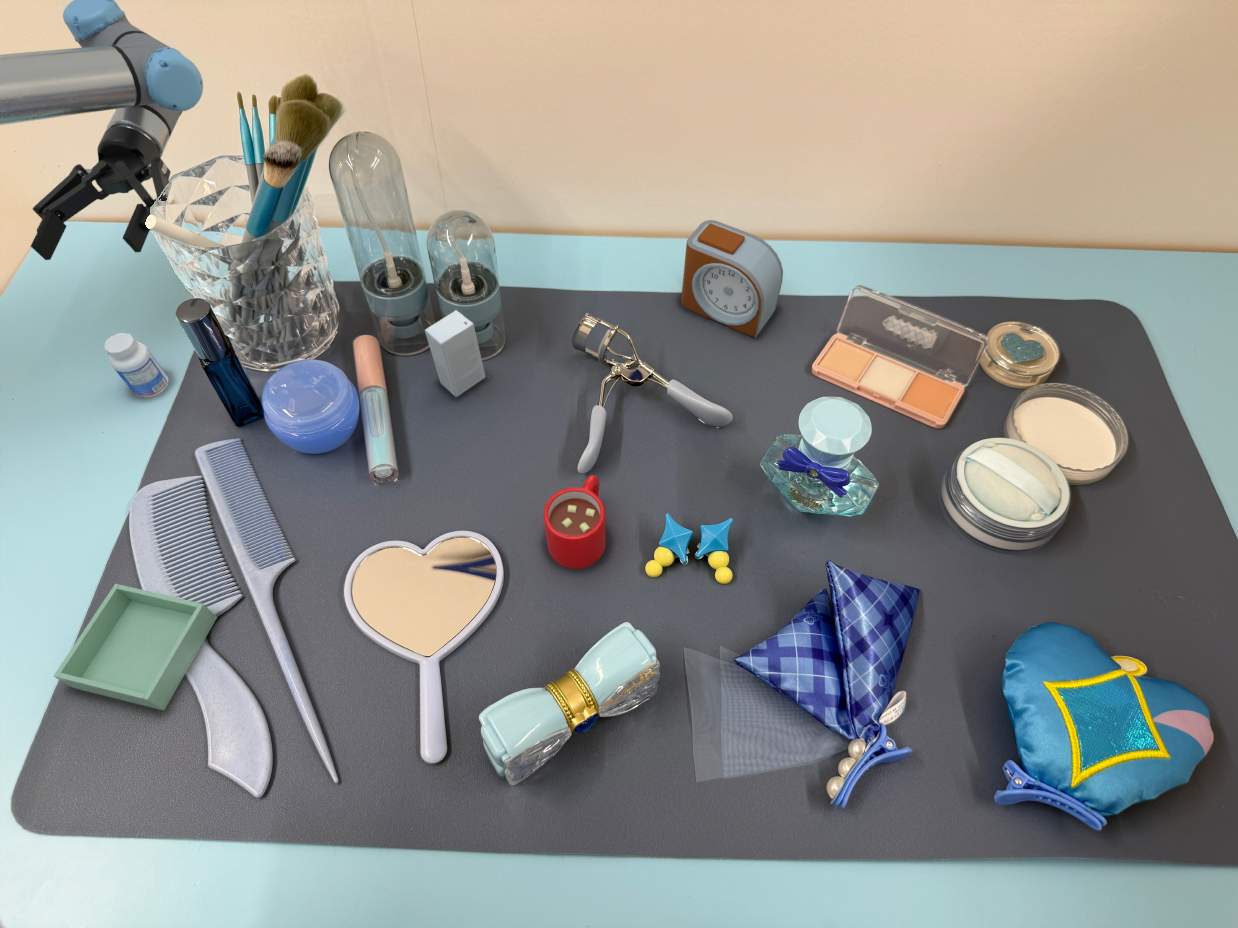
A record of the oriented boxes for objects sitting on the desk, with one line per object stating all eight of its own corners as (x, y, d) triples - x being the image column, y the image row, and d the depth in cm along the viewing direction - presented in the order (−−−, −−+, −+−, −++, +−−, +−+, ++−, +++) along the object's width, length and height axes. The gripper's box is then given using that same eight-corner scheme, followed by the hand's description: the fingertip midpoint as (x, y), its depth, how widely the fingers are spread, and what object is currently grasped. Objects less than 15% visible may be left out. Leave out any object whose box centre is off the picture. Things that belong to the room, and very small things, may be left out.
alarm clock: (675, 306, 131) (681, 241, 120) (699, 277, 135) (707, 212, 124) (754, 339, 127) (767, 275, 116) (776, 308, 131) (791, 244, 120)
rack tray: (73, 687, 93) (52, 676, 89) (131, 597, 100) (115, 583, 96) (164, 710, 91) (147, 699, 88) (217, 617, 98) (203, 603, 95)
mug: (621, 501, 108) (621, 470, 102) (595, 575, 102) (594, 546, 95) (568, 488, 110) (565, 456, 103) (539, 560, 103) (534, 530, 97)
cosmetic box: (469, 364, 123) (457, 308, 113) (486, 378, 122) (475, 323, 112) (438, 384, 121) (423, 329, 111) (455, 399, 119) (441, 344, 109)
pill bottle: (132, 377, 121) (99, 333, 113) (169, 369, 122) (138, 324, 114) (132, 403, 118) (98, 359, 110) (169, 393, 119) (138, 350, 111)
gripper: (225, 158, 118) (186, 261, 108) (75, 173, 121) (24, 275, 111) (196, 115, 112) (152, 221, 101) (38, 132, 114) (-20, 236, 104)
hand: (85, 249), depth 106 cm, fingers open, 13 cm apart
